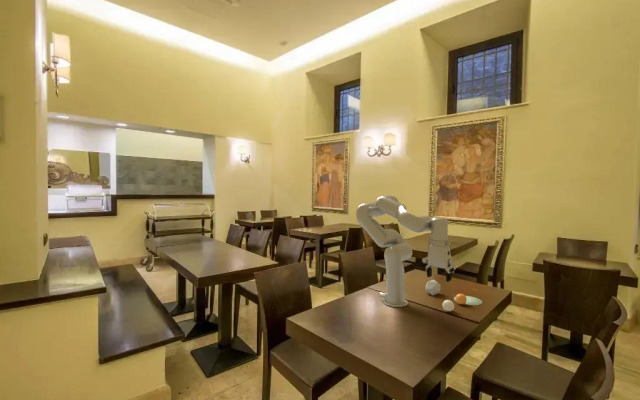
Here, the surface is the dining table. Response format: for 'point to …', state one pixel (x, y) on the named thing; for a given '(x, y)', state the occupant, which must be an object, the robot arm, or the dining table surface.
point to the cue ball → (448, 305)
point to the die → (433, 287)
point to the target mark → (472, 301)
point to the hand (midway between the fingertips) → (438, 278)
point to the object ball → (461, 298)
